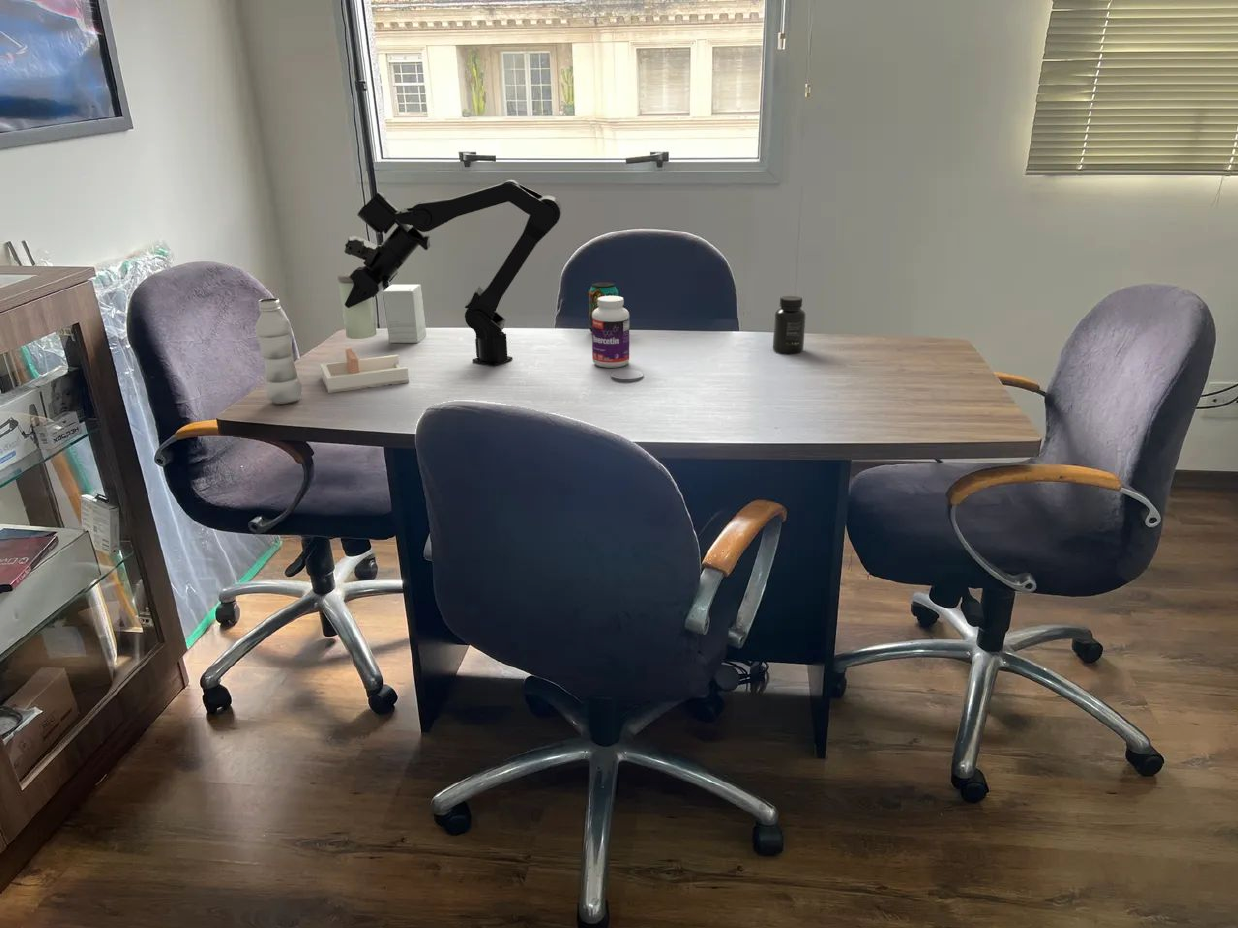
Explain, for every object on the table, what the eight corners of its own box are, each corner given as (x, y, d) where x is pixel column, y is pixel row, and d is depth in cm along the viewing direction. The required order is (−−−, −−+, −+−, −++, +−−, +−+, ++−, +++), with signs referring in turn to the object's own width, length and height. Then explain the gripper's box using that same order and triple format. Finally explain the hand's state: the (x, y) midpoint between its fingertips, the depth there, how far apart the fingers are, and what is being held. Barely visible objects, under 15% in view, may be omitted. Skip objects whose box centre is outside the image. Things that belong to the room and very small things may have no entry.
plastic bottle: (310, 398, 174) (295, 297, 166) (288, 409, 168) (271, 305, 161) (283, 395, 176) (266, 295, 168) (260, 406, 170) (241, 303, 163)
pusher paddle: (354, 371, 187) (351, 348, 186) (360, 382, 180) (357, 358, 178) (348, 372, 187) (345, 349, 185) (354, 383, 180) (351, 359, 178)
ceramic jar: (383, 334, 194) (376, 274, 189) (358, 340, 189) (350, 279, 184) (363, 329, 198) (356, 271, 193) (339, 336, 193) (330, 276, 188)
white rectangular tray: (398, 368, 192) (397, 354, 191) (409, 382, 183) (407, 368, 182) (322, 377, 187) (320, 364, 185) (328, 393, 177) (326, 378, 176)
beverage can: (587, 336, 215) (586, 286, 210) (592, 329, 221) (591, 280, 217) (615, 337, 214) (615, 287, 209) (620, 329, 220) (620, 281, 215)
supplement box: (427, 335, 217) (422, 284, 212) (418, 343, 211) (412, 290, 206) (398, 335, 218) (392, 283, 213) (387, 343, 211) (381, 290, 206)
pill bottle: (586, 367, 192) (584, 301, 186) (601, 357, 198) (600, 293, 193) (621, 371, 189) (620, 303, 183) (635, 360, 196) (634, 295, 190)
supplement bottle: (807, 349, 203) (811, 296, 198) (796, 356, 197) (799, 302, 193) (779, 344, 206) (782, 293, 201) (767, 352, 201) (770, 299, 196)
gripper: (376, 216, 193) (332, 268, 197) (353, 229, 176) (306, 286, 180) (416, 252, 196) (372, 302, 200) (398, 268, 179) (350, 323, 183)
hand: (350, 302), depth 191 cm, fingers closed on ceramic jar, 6 cm apart
